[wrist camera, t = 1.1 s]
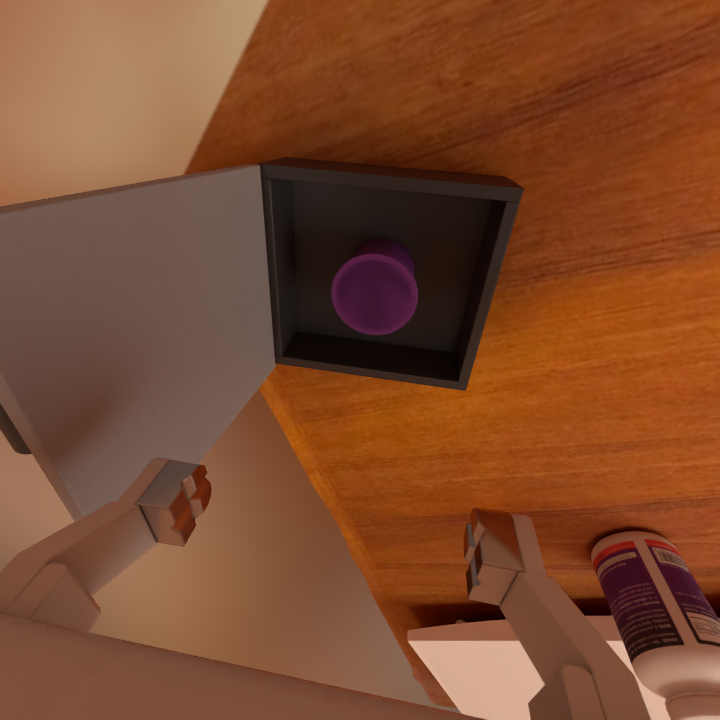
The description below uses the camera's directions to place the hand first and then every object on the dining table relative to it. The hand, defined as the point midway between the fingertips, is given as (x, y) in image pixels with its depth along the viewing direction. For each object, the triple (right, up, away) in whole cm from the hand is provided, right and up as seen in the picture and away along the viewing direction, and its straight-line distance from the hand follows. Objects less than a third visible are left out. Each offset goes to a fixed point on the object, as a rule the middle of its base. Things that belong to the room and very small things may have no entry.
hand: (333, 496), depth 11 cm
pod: (+2, +11, +16) cm, 19 cm away
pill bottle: (+30, -16, +29) cm, 45 cm away
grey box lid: (-7, +5, +6) cm, 11 cm away
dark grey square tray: (+2, +11, +16) cm, 20 cm away
